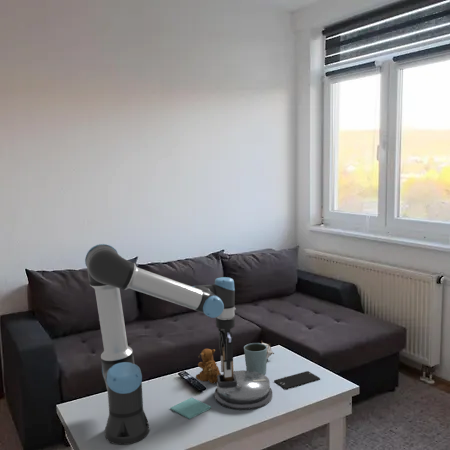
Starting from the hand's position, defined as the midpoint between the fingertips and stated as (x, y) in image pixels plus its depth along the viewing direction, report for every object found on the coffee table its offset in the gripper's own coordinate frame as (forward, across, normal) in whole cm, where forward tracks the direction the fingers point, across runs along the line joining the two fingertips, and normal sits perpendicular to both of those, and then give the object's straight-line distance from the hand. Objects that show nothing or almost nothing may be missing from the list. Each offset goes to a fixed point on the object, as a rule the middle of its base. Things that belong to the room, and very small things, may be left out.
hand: (226, 373), depth 199 cm
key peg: (+3, 0, -1) cm, 3 cm away
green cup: (+9, +16, -18) cm, 25 cm away
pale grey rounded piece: (+8, +29, -26) cm, 40 cm away
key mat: (+9, -6, +16) cm, 19 cm away
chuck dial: (+7, -2, -6) cm, 10 cm away
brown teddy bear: (+9, +16, +3) cm, 18 cm away
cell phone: (+9, +4, -32) cm, 33 cm away
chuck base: (+9, -2, -6) cm, 11 cm away
